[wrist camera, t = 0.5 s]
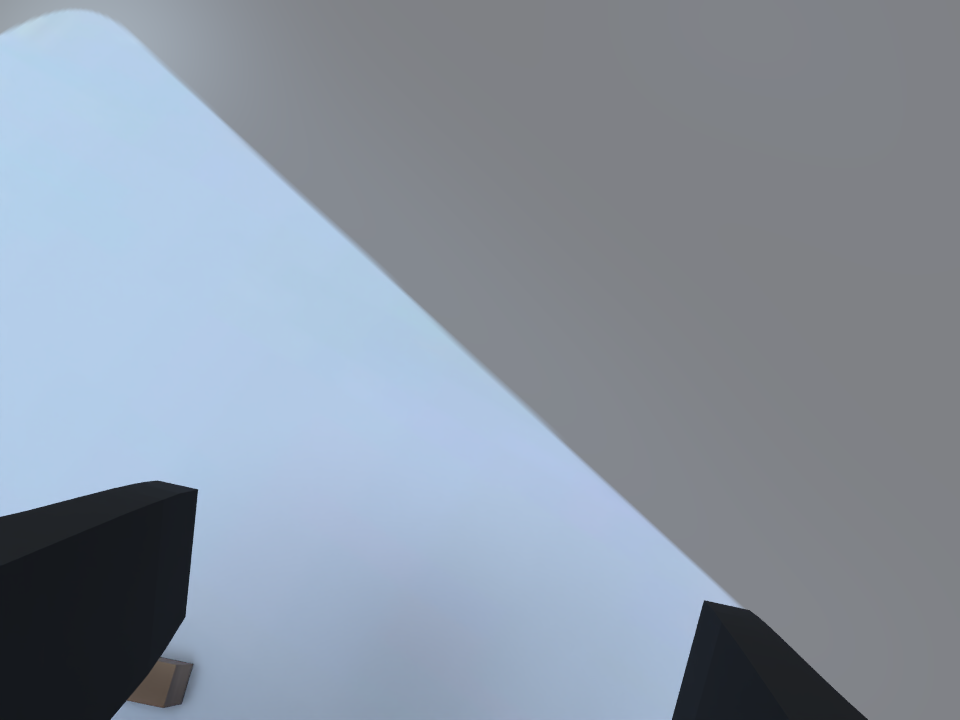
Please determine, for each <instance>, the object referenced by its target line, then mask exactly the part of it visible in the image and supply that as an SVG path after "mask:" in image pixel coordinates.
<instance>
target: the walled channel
mask: <svg viewBox="0 0 960 720" xmlns="http://www.w3.org/2000/svg"><path fill="white" fill-rule="evenodd" d="M192 667H193V664H190V663H186V662H181V661H176V660H171V659H166V658H162V657H160V658H159V659H158V661H157V662H156V664H155V665H154V667H153V668H152V670H151V671H150V673H149V674H148V676H147V677H146V678H145V679H144V680H143V682H142V683H141V684H140V685H139V686H138V688H137V689H136V690H135V691H134V692H133V693H132V695H131V696H130V697H129V698H128V699H127V701H132V702H137V703H142V704H147V705H151V706H156V707H161V708H165V707H170V706H175V705H179V704H181V703H182V700H183V697H184V693H185V690H186V687H187V683H188V680H189V677H190V673H191V670H192Z"/></svg>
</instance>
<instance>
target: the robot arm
mask: <svg viewBox="0 0 960 720" xmlns="http://www.w3.org/2000/svg"><path fill="white" fill-rule="evenodd" d="M197 494H198V489H193V488H189V487H184V486H180V485H175V484H171V483H166V482H162V481H150V482H142V483H137V484H132V485H127V486H122V487H118V488H114V489H110V490H106V491H102V492H98V493H94V494H90V495H86V496H82V497H78V498H74V499H71V500H67V501H63V502H59V503H55V504H51V505H47V506H44V507H40V508H36V509H32V510H28V511H24V512H20V513H15V514H11V515H7V516H2V517H0V720H110V719H111V718H112V717H113V716H114V715H115V713H116V712H117V711H118V710H119V709H120V708H121V706H122V705H123V704H124V703H125V702H126V700H127V699H128V698H129V697H130V696H131V695H132V693H133V692H134V691H135V690H136V689H137V688H138V686H139V685H140V684H141V683H142V682H143V680H144V679H145V678H146V677H147V676H148V674H149V673H150V671H151V670H152V668H153V667H154V665H155V664H156V662H157V661H158V659H159V658H160V656H161V655H162V653H163V652H164V650H165V649H166V647H167V646H168V644H169V642H170V641H171V639H172V638H173V636H174V634H175V633H176V631H177V630H178V628H179V626H180V625H181V623H182V622H183V620H184V618H185V615H186V605H187V595H188V585H189V575H190V565H191V555H192V545H193V535H194V525H195V515H196V504H197ZM672 720H868V719H867V718H865V717H864V716H863V715H862V714H861V713H860V712H859V711H858V710H857V709H856V708H854V707H853V706H852V705H851V704H850V703H849V702H848V701H847V700H846V699H845V698H844V697H842V696H841V695H840V694H839V693H838V692H837V691H836V690H835V689H834V688H833V687H832V686H831V685H830V684H828V683H827V682H826V681H825V680H824V679H823V678H822V677H821V676H820V675H819V674H818V673H817V672H816V671H815V670H814V669H813V668H812V667H811V666H810V665H808V663H807V662H806V661H804V659H802V658H801V657H800V656H799V655H798V654H797V653H796V652H795V651H794V650H793V649H792V648H791V647H790V646H789V645H788V644H787V643H786V642H785V641H784V640H783V639H782V638H781V637H780V636H779V635H778V634H777V633H775V632H774V631H773V630H772V629H771V628H770V627H769V626H768V625H767V624H766V623H765V622H763V621H762V620H761V619H760V618H759V617H758V616H756V615H755V614H754V613H752V612H751V611H750V610H746V609H741V608H737V607H732V606H728V605H723V604H719V603H714V602H709V601H705V600H704V603H703V606H702V610H701V614H700V617H699V621H698V625H697V629H696V632H695V636H694V640H693V643H692V647H691V651H690V655H689V658H688V662H687V666H686V669H685V673H684V677H683V681H682V684H681V688H680V692H679V695H678V699H677V703H676V706H675V710H674V714H673V718H672Z"/></svg>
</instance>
